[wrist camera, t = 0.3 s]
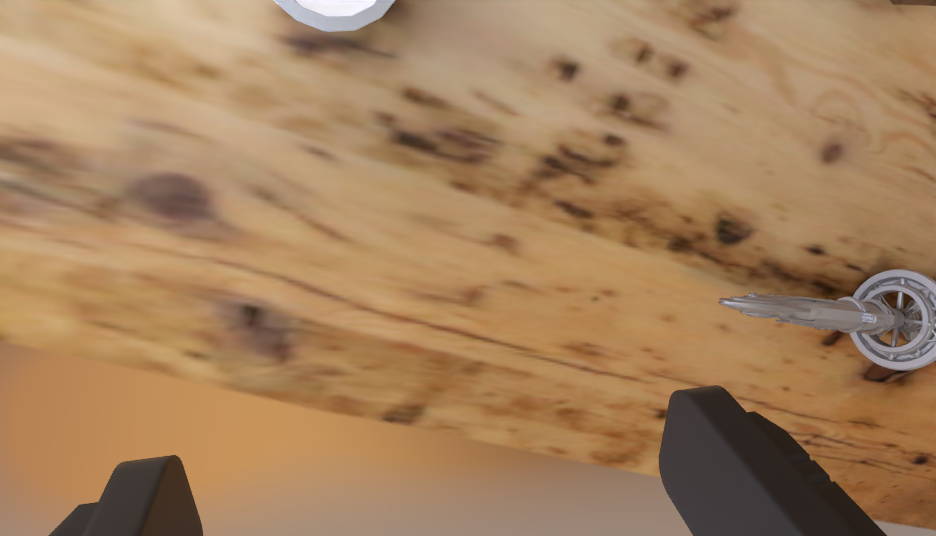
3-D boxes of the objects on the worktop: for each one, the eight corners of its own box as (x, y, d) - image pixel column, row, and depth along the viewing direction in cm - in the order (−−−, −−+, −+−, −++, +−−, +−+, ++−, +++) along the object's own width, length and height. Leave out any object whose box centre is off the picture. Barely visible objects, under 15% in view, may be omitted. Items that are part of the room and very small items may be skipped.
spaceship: (779, 248, 35) (762, 376, 35) (1095, 291, 47) (1079, 386, 48) (688, 243, 42) (674, 349, 43) (981, 281, 55) (969, 364, 55)
